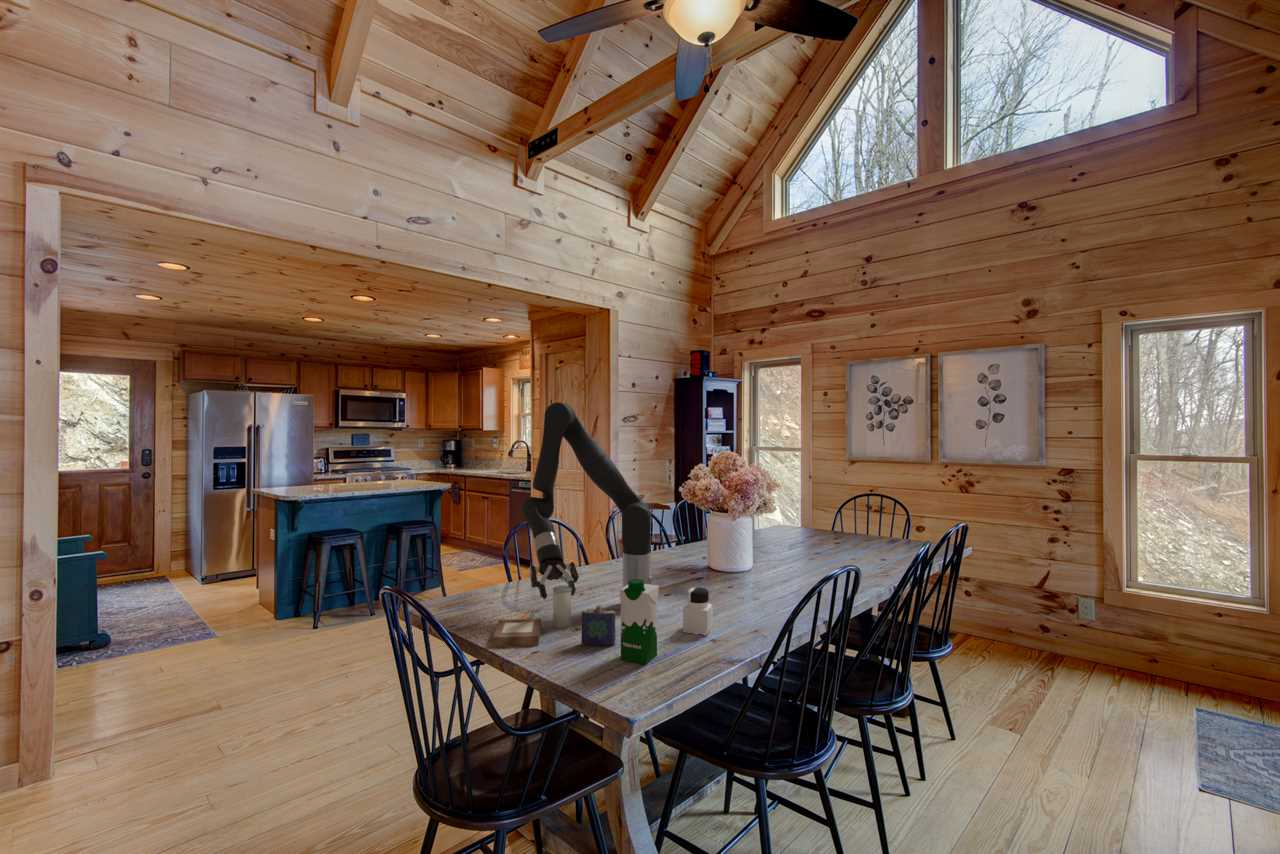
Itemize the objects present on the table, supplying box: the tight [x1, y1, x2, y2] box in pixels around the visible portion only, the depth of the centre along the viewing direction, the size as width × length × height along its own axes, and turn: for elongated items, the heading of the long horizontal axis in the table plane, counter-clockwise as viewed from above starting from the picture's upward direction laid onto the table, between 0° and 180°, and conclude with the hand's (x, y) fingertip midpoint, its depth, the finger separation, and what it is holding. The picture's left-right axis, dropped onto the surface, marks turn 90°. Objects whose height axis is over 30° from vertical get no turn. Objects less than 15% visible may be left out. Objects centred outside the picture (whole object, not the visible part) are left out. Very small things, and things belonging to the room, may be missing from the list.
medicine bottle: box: [682, 586, 714, 636], centre depth 170 cm, size 7×7×12 cm
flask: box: [580, 604, 617, 647], centre depth 159 cm, size 9×3×11 cm, turn 88°
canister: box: [552, 585, 572, 630], centre depth 174 cm, size 5×5×11 cm
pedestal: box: [492, 618, 542, 647], centre depth 165 cm, size 12×14×3 cm
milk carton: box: [619, 579, 660, 666], centre depth 150 cm, size 9×9×20 cm
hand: (559, 596), depth 176 cm, fingers open, 8 cm apart
